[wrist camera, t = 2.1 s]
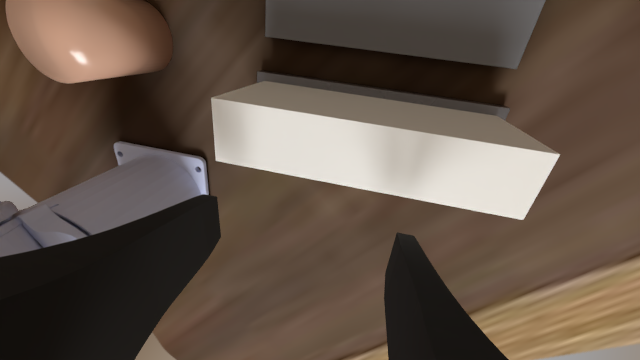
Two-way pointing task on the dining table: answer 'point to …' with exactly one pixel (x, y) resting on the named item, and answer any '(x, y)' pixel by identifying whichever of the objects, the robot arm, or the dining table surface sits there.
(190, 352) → the dining table surface
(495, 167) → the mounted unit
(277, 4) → the pad
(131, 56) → the terracotta part
